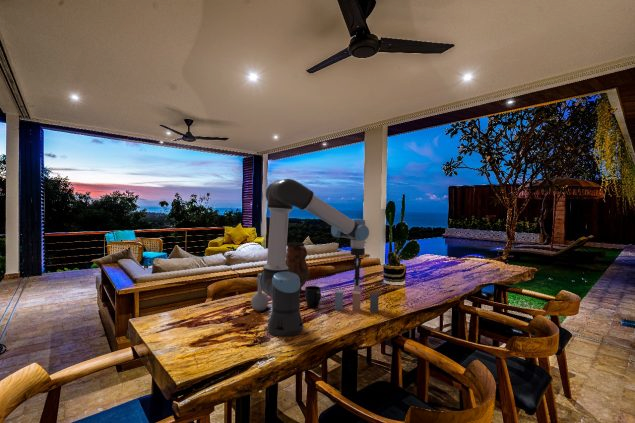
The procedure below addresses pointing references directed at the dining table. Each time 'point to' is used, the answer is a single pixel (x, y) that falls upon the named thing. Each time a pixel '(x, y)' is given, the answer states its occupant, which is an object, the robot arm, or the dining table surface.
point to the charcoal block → (374, 302)
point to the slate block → (338, 300)
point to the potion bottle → (259, 298)
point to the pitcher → (297, 262)
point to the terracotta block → (356, 301)
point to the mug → (312, 295)
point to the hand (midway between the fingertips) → (356, 290)
